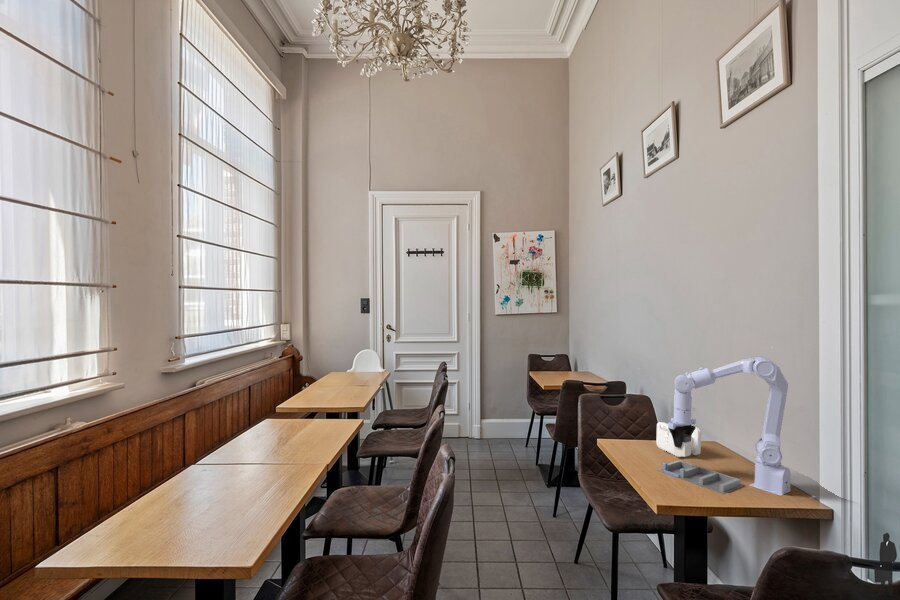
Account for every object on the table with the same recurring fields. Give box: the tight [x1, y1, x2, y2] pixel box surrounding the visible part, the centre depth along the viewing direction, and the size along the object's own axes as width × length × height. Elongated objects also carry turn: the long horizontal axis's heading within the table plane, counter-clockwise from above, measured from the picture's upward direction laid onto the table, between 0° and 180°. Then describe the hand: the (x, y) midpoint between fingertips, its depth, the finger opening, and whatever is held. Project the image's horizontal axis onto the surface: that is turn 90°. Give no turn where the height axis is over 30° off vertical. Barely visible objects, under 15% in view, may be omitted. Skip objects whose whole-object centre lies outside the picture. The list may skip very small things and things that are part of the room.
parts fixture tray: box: [657, 459, 744, 495], centre depth 160 cm, size 23×13×3 cm, turn 33°
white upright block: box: [674, 434, 692, 458], centre depth 165 cm, size 4×4×7 cm
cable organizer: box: [656, 421, 702, 458], centre depth 188 cm, size 15×11×12 cm
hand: (681, 446), depth 165 cm, fingers closed on white upright block, 4 cm apart
